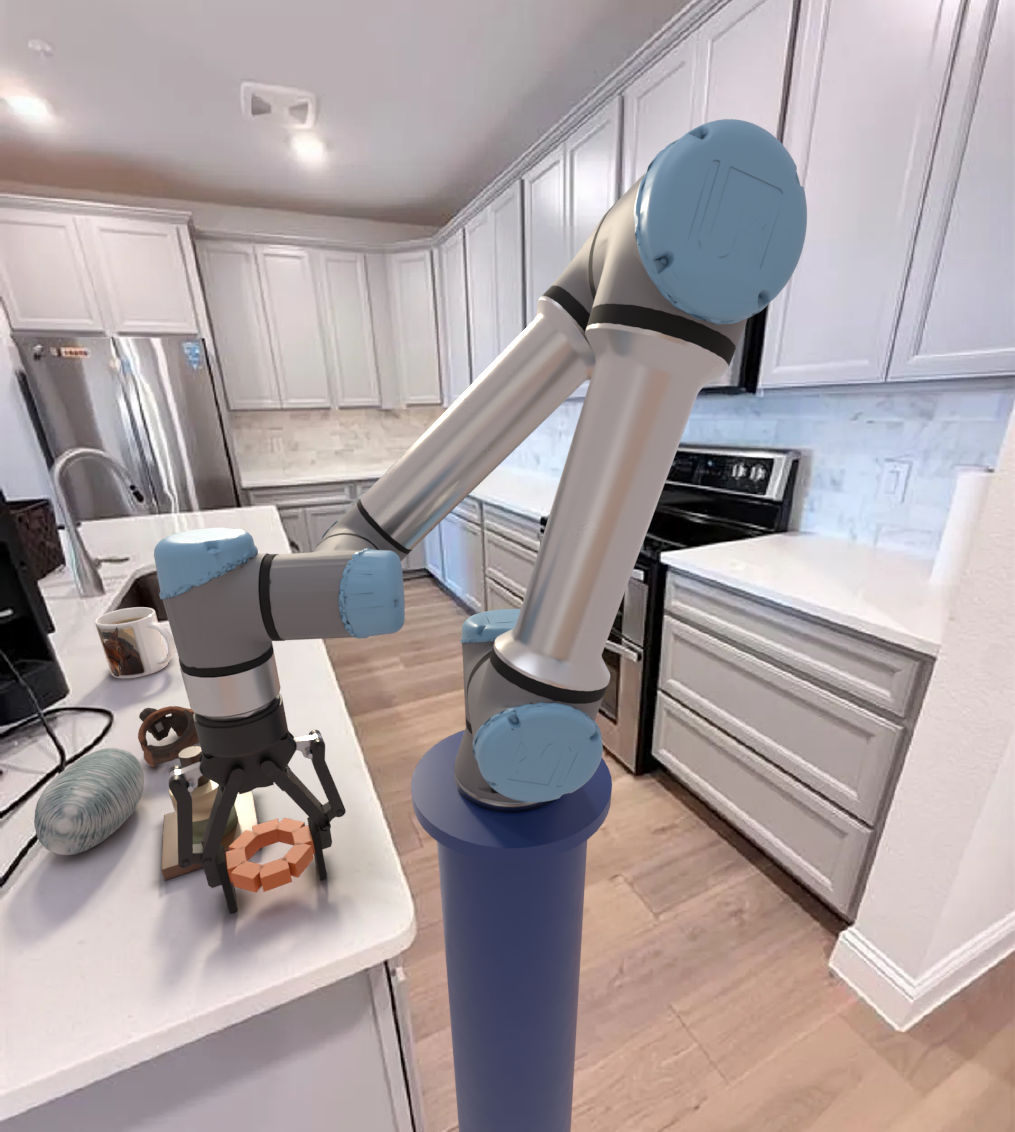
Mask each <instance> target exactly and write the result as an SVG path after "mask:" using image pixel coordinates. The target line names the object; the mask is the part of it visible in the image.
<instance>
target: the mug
mask: <svg viewBox="0 0 1015 1132" xmlns="http://www.w3.org/2000/svg"><path fill="white" fill-rule="evenodd" d="M94 625H95V628H96V631H97V634H98V637H99V640H100V641H99V642H100V644H101V647H102V650H103V653H104V656H105V659H106V663H107V666H108V669H109V673H110V675H111V676H112V677H114V678H117V679H135V678H140V677H141V678H142V677H145V676H148V675H149V676H150V675H152V674H154V673H157V672H159V671H161V670H163V669H164V668H166V667H167V666H168V664H169V661H171V660H172V659H173V658H174V657H175V654H176V646H175V642H174V639H173V635H172V632H170V631H169V629H168V628H167V627H166V626H165V625H163V624H162V623H160V622H159V620H158V616H157V613H156V610H155V609H154V608H152V607H146V606H145V607H144V606H136V607H126V608H120V609H116V610H113V611H109V612H106V613H104V614H102V615H99V616H98V617H96V618H95V620H94ZM164 640H165V641H164ZM165 642H166V645H167V649H166V645H165Z"/></svg>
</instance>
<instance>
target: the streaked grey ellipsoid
mask: <svg viewBox="0 0 1015 1132" xmlns="http://www.w3.org/2000/svg"><path fill="white" fill-rule="evenodd" d="M144 787H145V774H144V771H143V767H142V764H141V762H140V760H139V759H138V758H137V757H136V756H135V755H134V754H133V753H132V752H131V751H127V750H125V749H122V748H121V749H120V748H116V747H108V748H102V749H98V750H95V751H92V752H90V753H87V754H86V755H84V756H82V757H80V758H79V759H78V760H76V761H74V762H73V763H71V764H70V765H69V766H67V767H66V768H64V770H63V771H61V772H59V773H58V775H56V776H55V777H54V779H52V781H50V783H48V785H47V786H46V787H45V788H44V790H43V791H42V793H41V794H40V796H39V798H38V800H37V801H36V804H35V805H36V806H35V810H34V818H33V823H34V829H35V834H36V835H35V836H36V838H37V839H38V842H39V843H40V844H41V846H43V847H44V849H46V851H48V852H50V853H53V854H56V855H59V856H60V855H61V856H75V855H77V854H81V853H84V852H87V851H88V850H91V849H92V848H94V847H96V846H97V845H99V844H101V843H102V842H104V841H105V840H106V839H107V838H109V837H110V836H112V835H113V834H114V833H115V832H116V831H118V829H120V828H121V827H122V825H123V824H124V823H125V822H126V821H127V820H128V819H129V818H130V817H131V815H133V812H134V811H135V810H136V808H137V806H138V804H139V803H140V801H141V797H142V795H143V792H144Z"/></svg>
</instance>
